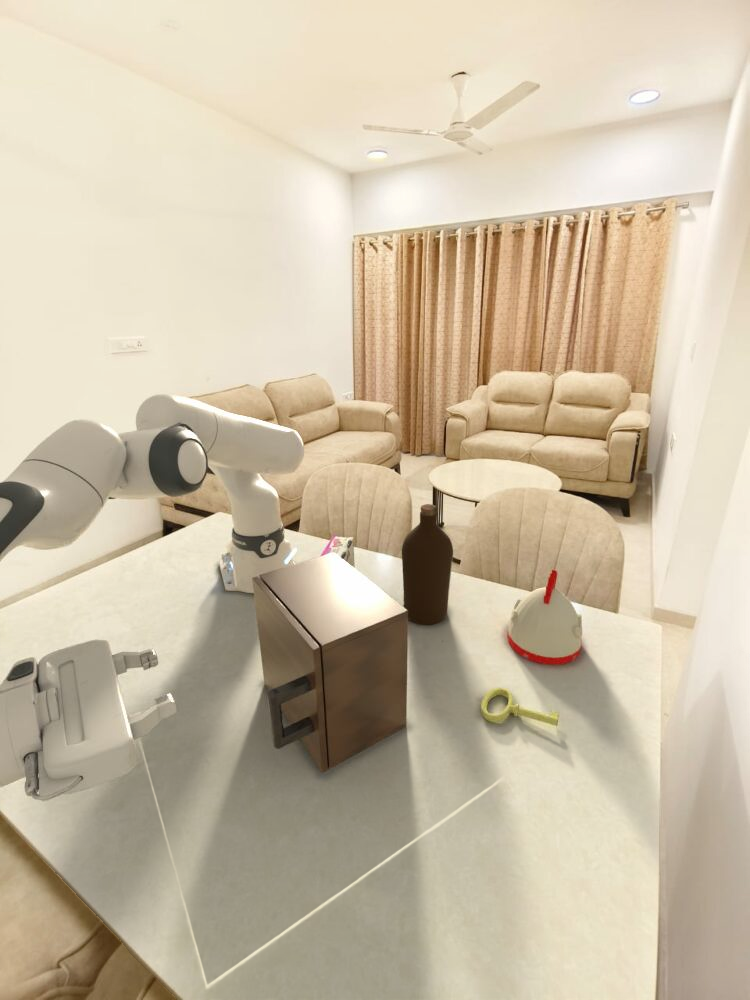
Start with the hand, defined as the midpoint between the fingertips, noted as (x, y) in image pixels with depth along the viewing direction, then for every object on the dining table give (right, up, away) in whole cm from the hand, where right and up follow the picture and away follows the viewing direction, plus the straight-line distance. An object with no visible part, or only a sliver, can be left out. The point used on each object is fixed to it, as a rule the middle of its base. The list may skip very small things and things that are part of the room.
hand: (165, 677), depth 59 cm
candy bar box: (+17, -4, +50) cm, 53 cm away
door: (+9, -16, +21) cm, 28 cm away
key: (+48, -15, +24) cm, 55 cm away
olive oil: (+36, -4, +51) cm, 62 cm away
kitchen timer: (+58, -7, +41) cm, 72 cm away
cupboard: (+18, -14, +26) cm, 35 cm away
